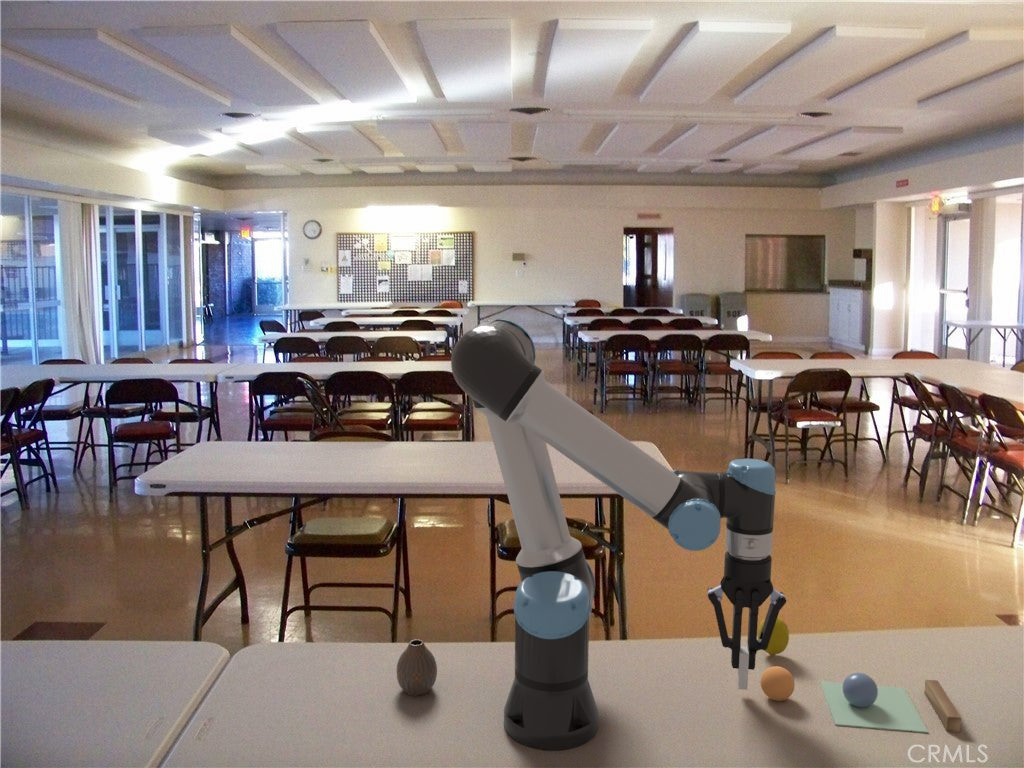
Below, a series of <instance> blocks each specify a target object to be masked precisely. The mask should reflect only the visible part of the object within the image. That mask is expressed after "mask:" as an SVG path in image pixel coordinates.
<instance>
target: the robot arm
mask: <svg viewBox="0 0 1024 768" xmlns="http://www.w3.org/2000/svg"><path fill="white" fill-rule="evenodd" d="M450 361H451V362H450V366H451V372H452V375H453V378H454V381H455V382H456V383H457V385H458V386H459V387H460V389H461V390H462V391H463V392H464V393H465V394H466V395H467V396H469V398H471V399H472V403H473V406H474V409H475V410H476V411H477V412H479V413H481V414H483V415H484V416H485V417H486V420H487V424H488V427H489V432H490V435H491V439H492V442H493V446H494V450H495V454H496V457H497V462H498V464H499V468H500V472H501V475H502V479H503V484H504V487H505V490H506V494H507V498H508V502H509V506H510V509H511V513H512V518H513V520H514V524H515V528H516V531H517V532H516V533H517V535H518V536H517V537H518V539H519V542H520V547H521V549H520V551H519V552H518V554H517V556H516V558H515V562H516V566H517V570H518V574H519V578H520V581H521V582H520V583H519V585H518V586H517V588H516V591H515V597H514V601H513V613H514V679H513V680H512V685H511V688H510V690H509V692H508V693H509V694H508V696H507V698H506V702H505V704H504V709H503V727H504V730H505V732H506V733H507V734H508V735H509V736H510V737H511V739H513V740H515V741H517V742H518V743H521V744H522V745H525V746H528V747H532V748H534V749H535V748H536V749H541V750H548V751H550V750H565V749H566V750H567V749H570V748H575V747H577V746H578V747H579V746H581V745H583V744H585V743H587V742H588V741H590V740H591V739H593V738H594V736H595V735H596V733H597V732H598V728H599V710H598V705H597V703H596V700H595V697H594V696H595V695H594V693H593V690H592V688H591V685H590V682H589V642H590V641H589V639H590V637H589V636H590V625H591V615H592V609H593V602H594V598H595V594H596V593H595V592H596V590H595V589H596V581H595V580H596V579H595V576H594V572H593V570H592V567H591V565H590V564H589V562H588V561H587V559H586V556H585V553H584V549H583V545H582V543H581V541H580V540H579V539H577V538H576V537H573V536H571V535H570V530H569V527H568V523H567V519H566V515H565V510H564V507H563V504H562V499H561V496H560V491H559V488H558V485H557V480H556V476H555V472H554V469H553V466H552V465H553V464H552V461H551V457H550V454H549V449H548V445H549V446H550V447H553V449H555V450H556V451H558V452H559V453H560V454H561V455H563V456H565V457H566V458H567V459H569V460H570V461H572V462H573V463H574V464H576V465H577V466H579V467H580V468H581V469H583V470H584V471H586V472H587V473H589V474H590V475H591V476H592V477H594V478H595V479H597V480H598V481H600V482H601V483H602V484H604V485H605V486H606V487H607V488H609V489H610V490H612V491H614V492H615V493H616V494H618V495H619V496H621V497H622V498H623V499H625V500H627V502H629V503H631V504H632V505H633V506H635V507H636V508H637V509H639V510H640V511H641V512H643V513H644V514H646V515H647V516H649V517H650V518H652V519H653V520H654V521H656V522H657V523H658V524H660V525H661V526H662V527H664V528H665V529H666V530H668V532H669V533H668V534H669V535H670V536H671V537H672V539H673V541H674V542H675V543H676V544H677V545H678V547H680V548H682V549H684V550H687V551H691V552H699V551H703V550H705V549H708V548H709V547H711V546H713V544H715V543H716V542H717V540H718V538H719V535H720V533H721V527H722V526H721V523H722V522H721V521H722V519H726V522H725V543H724V544H725V545H724V548H725V550H726V551H725V553H724V567H723V576H722V578H721V581H720V585H717V586H716V587H708V588H707V590H706V592H707V598H708V600H709V601H710V603H711V604H712V606H713V608H714V612H715V618H716V622H717V626H718V632H719V636H720V637H719V638H720V641H721V645H722V647H723V648H725V649H727V648H728V649H730V650H731V657H730V659H731V660H730V663H731V667H732V669H737V671H736V673H737V674H736V683H737V684H736V685H737V689H738V690H745V691H747V690H748V686H749V685H748V684H749V683H748V681H749V670H753V671H754V670H755V668H756V655H757V653H758V651H760V650H761V651H764V650H766V649H767V648H768V644H769V641H770V638H771V635H772V632H773V629H774V626H775V623H776V620H777V617H779V613H780V610H782V608H783V607H784V606H785V605H786V603H787V599H786V595H785V593H784V592H782V591H778V590H776V589H775V588H774V586H773V583H772V581H771V576H772V560H773V559H772V558H773V557H772V556H771V554H772V553H773V536H774V533H773V532H774V518H775V507H776V506H775V504H776V503H775V502H776V494H777V491H776V469H775V467H774V466H773V465H772V464H771V463H770V462H768V461H765V460H761V459H756V458H743V459H741V458H740V459H739V458H738V459H737V458H735V459H733V460H731V461H730V462H729V464H728V467H727V468H728V469H727V471H723V472H715V471H714V472H713V471H694V470H693V471H691V470H679V469H674V470H670V469H669V468H667V467H666V466H665V465H663V464H662V463H661V462H659V461H658V460H657V459H655V458H653V456H651V455H650V454H648V453H647V452H645V451H644V450H642V449H641V448H639V447H638V446H637V445H635V444H634V443H633V442H631V441H630V440H629V439H627V438H626V437H624V436H623V435H622V434H620V433H619V432H618V431H616V430H615V429H613V428H612V427H610V426H609V425H608V424H607V423H605V422H603V421H602V420H601V419H599V418H598V417H596V416H595V415H594V414H592V413H591V412H589V411H588V410H587V409H586V408H584V407H582V406H581V405H580V404H578V403H577V402H575V400H573V399H572V398H570V397H569V396H567V395H566V394H565V393H563V392H561V391H560V390H559V389H557V388H556V387H555V386H553V384H550V382H548V381H547V379H546V375H545V371H544V370H542V369H541V368H540V367H538V366H537V365H536V364H535V361H536V346H535V343H534V341H533V338H532V337H531V335H530V334H529V332H528V331H527V330H526V329H525V328H524V327H523V326H522V325H520V324H519V323H516V322H515V321H512V320H509V319H504V318H503V319H502V318H496V319H488V320H486V321H484V322H481V323H479V324H476V326H475V327H473V328H471V329H469V330H467V331H466V332H465V333H463V334H462V336H461V337H459V339H458V340H457V342H456V343H455V346H454V348H453V349H452V353H451V359H450ZM547 444H548V445H547ZM723 593H724V594H725V596H726V598H727V599H728V600H729V601H730V603H731V604H732V608H733V609H732V610H733V611H732V627H731V628H732V630H731V631H732V633H731V637H729V635H728V631H727V626H726V625H727V624H726V620H725V616H724V611H723V608H722V607H723V606H722V602H721V601H722V600H723V598H724V597H723ZM768 598H769V601H770V604H769V605H768V606H769V607H768V609H767V612H766V616H765V618H764V619H765V621H764V624H763V627H762V631H761V634H760V637H759V639H758V621H759V619H758V618H759V610H760V609H759V608H760V607H761V606H762V605H763V604H764V603H765V601H767V599H768ZM745 608H747V609H748V621H747V622H748V623H747V624H748V625H747V643H746V644H747V645H746V646H745V645H741V641H742V623H743V622H742V620H743V619H742V618H743V611H744V610H743V609H745Z"/></svg>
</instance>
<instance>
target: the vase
mask: <svg viewBox="0 0 1024 768" xmlns="http://www.w3.org/2000/svg"><path fill="white" fill-rule="evenodd" d="M437 676H438V666H437V661H436V658H435V656H434V655H433V653H432V651H430V649H429V648H428V647H427V646H426V644H425V642H424V641H423V640H421V639H412V640H410V641H409V643H408V644H407V647H406V648H405V649H404V650H403V652H402V653H401V655H400V656H399V658H398V661H397V664H396V681H397V683H398V685H399V687H400V688H401V690H402V691H403V692H404V693H406V694H408V695H410V696H412V697H415V696H416V697H417V696H419V697H420V696H422V695H423V696H424V695H425V694H427V693H428V692H430V690H432V688H433V687H434V685H435V683H436V680H437Z"/></svg>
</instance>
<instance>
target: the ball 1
mask: <svg viewBox="0 0 1024 768" xmlns="http://www.w3.org/2000/svg"><path fill="white" fill-rule="evenodd" d="M760 687H761V689H762V692H763V693H764V695H766V697H768V698H769V699H771V700H773V701H777V702H780V701H785V700H787V699H789V698H790V697H792V694H793V693H794V691H795V680H794V677H793V675H792V674H791V672H790V671H789V670H787V669H786V668H784V667H782V666H777V665H776V666H770V667H768V668H766V669H765V670H764V672H763V673H762V674H761V677H760Z"/></svg>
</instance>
